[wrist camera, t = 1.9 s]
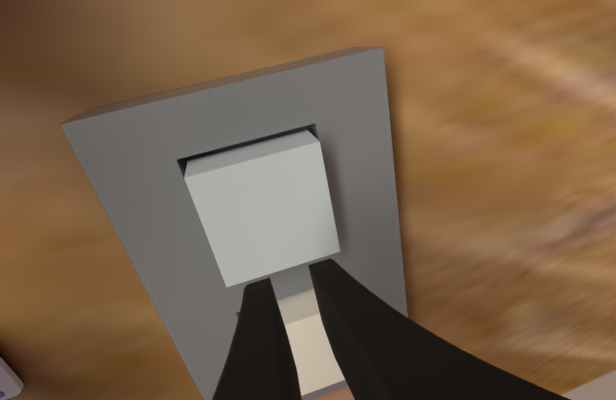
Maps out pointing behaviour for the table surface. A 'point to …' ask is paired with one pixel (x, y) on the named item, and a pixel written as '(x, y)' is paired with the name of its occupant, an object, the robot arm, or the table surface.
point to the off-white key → (309, 342)
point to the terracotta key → (337, 395)
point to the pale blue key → (264, 206)
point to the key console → (229, 135)
